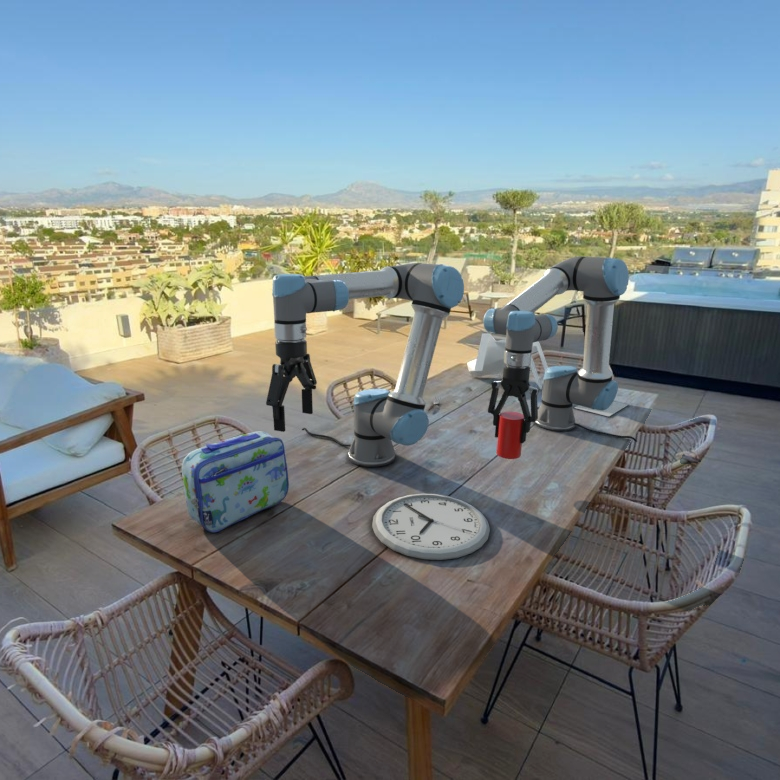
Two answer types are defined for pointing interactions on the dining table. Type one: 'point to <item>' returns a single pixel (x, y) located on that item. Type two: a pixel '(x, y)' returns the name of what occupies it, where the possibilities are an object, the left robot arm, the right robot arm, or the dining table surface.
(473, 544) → the wall clock
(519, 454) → the can
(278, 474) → the lunch box
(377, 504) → the dining table surface
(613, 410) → the invitation card
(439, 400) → the fork
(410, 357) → the left robot arm
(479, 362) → the white plastic object
